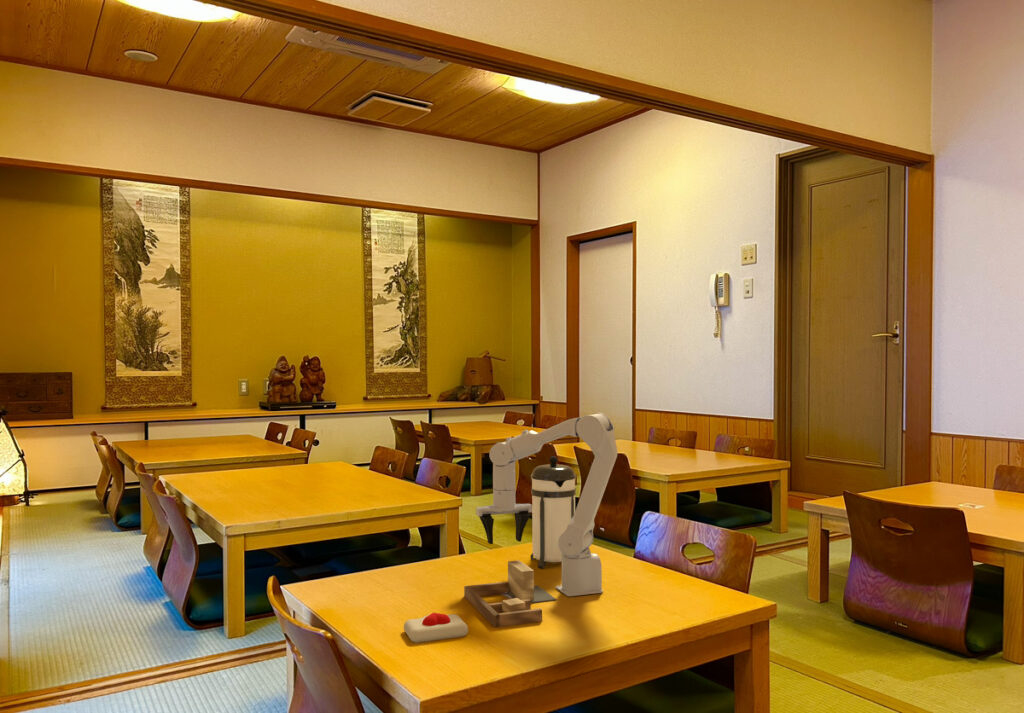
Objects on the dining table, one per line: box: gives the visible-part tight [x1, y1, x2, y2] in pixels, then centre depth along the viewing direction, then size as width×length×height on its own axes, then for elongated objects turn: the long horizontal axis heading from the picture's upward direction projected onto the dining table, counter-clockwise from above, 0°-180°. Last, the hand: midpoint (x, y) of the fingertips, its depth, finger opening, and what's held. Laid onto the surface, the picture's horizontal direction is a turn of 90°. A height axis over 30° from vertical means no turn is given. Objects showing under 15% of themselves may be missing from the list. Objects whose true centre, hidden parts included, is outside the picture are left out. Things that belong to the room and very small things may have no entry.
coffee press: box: [529, 455, 577, 569], centre depth 217 cm, size 17×16×30 cm
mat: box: [506, 584, 557, 604], centre depth 186 cm, size 9×12×1 cm
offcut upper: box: [501, 598, 525, 612], centre depth 169 cm, size 4×4×2 cm
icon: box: [403, 612, 469, 644], centre depth 161 cm, size 12×4×10 cm
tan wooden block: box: [507, 559, 535, 600], centre depth 185 cm, size 3×10×7 cm, turn 20°
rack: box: [463, 581, 543, 628], centre depth 176 cm, size 11×23×2 cm, turn 20°
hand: (504, 542), depth 197 cm, fingers open, 7 cm apart
